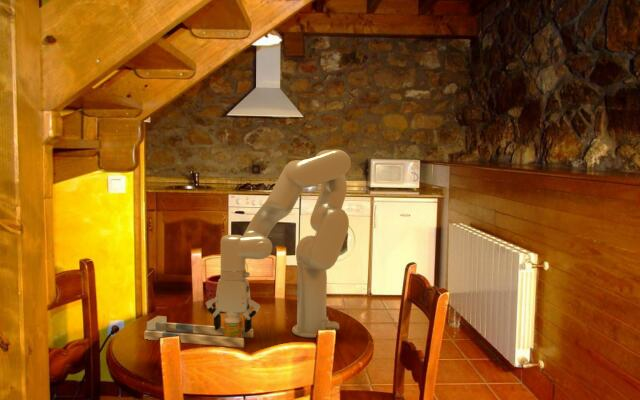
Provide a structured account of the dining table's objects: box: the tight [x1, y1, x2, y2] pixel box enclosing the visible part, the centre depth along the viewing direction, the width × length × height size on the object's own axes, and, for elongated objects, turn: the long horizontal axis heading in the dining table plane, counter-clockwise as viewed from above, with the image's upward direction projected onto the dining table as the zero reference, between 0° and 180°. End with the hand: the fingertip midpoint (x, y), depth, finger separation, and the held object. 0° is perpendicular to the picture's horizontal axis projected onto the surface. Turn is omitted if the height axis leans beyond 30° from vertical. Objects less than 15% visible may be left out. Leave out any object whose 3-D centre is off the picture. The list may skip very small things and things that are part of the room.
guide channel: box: [143, 315, 254, 348], centre depth 161 cm, size 32×10×5 cm, turn 79°
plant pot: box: [205, 274, 221, 309], centre depth 194 cm, size 13×13×12 cm
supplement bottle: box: [223, 312, 243, 338], centre depth 159 cm, size 5×5×10 cm
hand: (232, 329), depth 159 cm, fingers open, 9 cm apart
